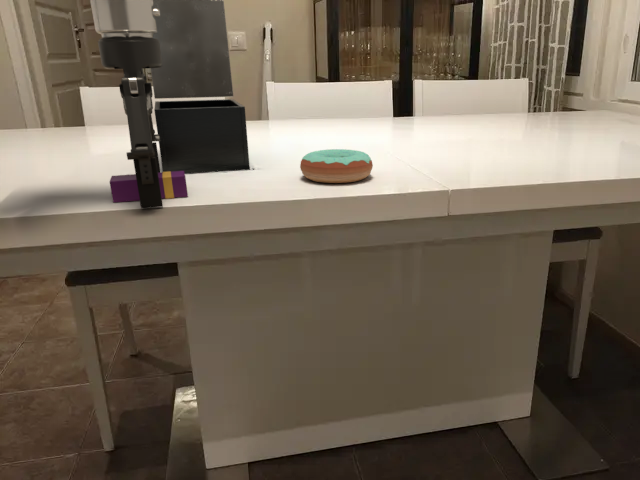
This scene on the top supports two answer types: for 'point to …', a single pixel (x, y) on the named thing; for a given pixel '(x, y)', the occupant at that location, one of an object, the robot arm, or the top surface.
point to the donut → (336, 166)
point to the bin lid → (192, 50)
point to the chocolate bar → (127, 186)
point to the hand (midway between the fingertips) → (152, 195)
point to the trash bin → (202, 135)
